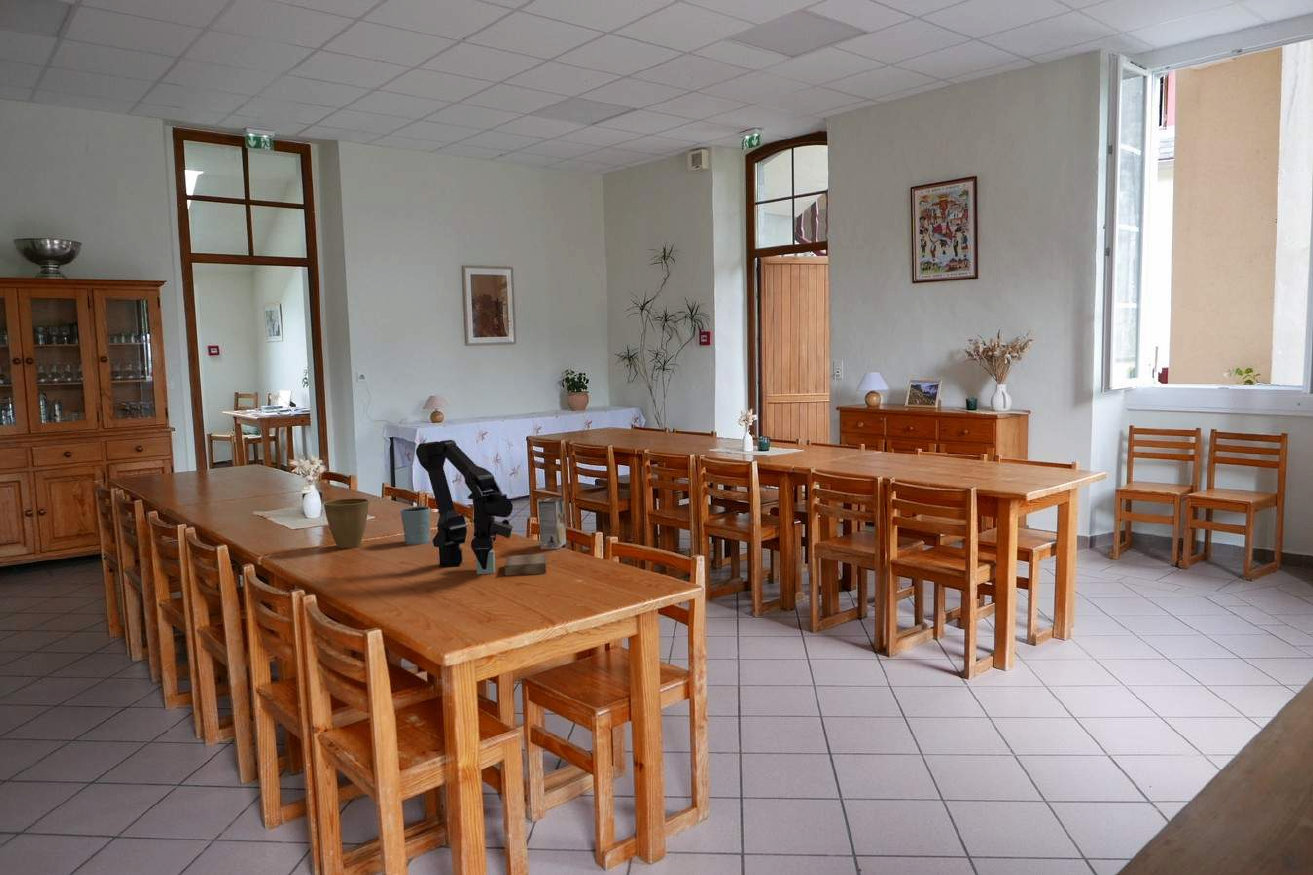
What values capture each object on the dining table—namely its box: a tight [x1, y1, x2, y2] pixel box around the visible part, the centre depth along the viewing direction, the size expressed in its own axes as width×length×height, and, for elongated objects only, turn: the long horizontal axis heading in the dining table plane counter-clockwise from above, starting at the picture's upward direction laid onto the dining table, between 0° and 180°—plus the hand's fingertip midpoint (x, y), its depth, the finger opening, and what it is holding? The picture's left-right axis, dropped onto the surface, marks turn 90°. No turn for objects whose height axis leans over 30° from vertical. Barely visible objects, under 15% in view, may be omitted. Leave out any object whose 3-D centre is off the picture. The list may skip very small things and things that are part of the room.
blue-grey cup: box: [400, 506, 431, 546], centre depth 309 cm, size 10×10×12 cm
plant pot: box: [323, 497, 370, 549], centre depth 305 cm, size 15×15×16 cm
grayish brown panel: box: [504, 553, 548, 576], centre depth 265 cm, size 12×12×3 cm
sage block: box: [475, 549, 496, 575], centre depth 263 cm, size 5×5×6 cm
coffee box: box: [537, 496, 567, 550], centre depth 295 cm, size 9×6×16 cm
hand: (485, 565), depth 264 cm, fingers open, 9 cm apart
